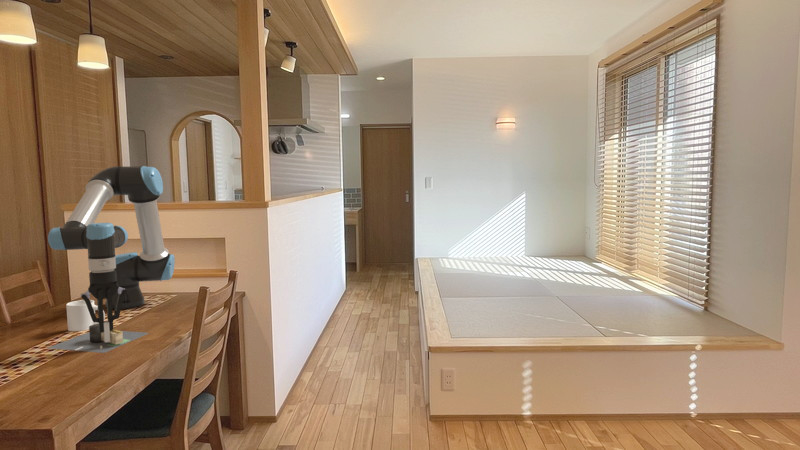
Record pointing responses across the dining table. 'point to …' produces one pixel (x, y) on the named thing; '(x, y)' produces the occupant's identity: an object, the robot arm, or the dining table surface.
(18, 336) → the dining table surface
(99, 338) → the dial lever
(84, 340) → the gauge board
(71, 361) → the dining table surface
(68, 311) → the mug
